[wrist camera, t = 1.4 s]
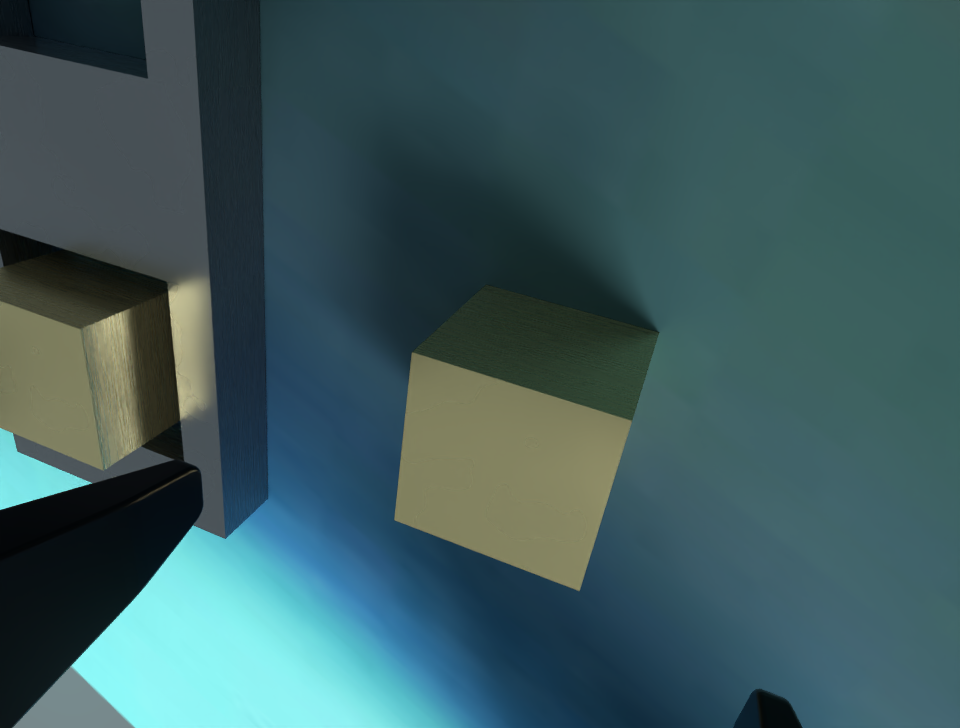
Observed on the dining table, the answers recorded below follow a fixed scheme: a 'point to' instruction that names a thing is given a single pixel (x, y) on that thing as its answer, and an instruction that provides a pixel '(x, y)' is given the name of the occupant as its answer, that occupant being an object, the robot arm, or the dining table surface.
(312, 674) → the dining table surface
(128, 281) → the tan wooden cube
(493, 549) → the beige wood block
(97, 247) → the rectangular frame
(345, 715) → the dining table surface
